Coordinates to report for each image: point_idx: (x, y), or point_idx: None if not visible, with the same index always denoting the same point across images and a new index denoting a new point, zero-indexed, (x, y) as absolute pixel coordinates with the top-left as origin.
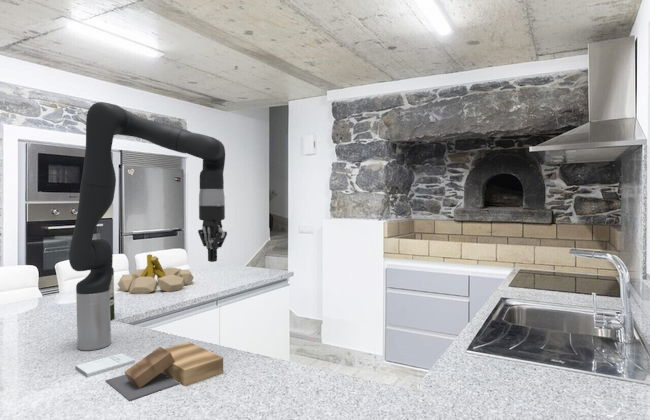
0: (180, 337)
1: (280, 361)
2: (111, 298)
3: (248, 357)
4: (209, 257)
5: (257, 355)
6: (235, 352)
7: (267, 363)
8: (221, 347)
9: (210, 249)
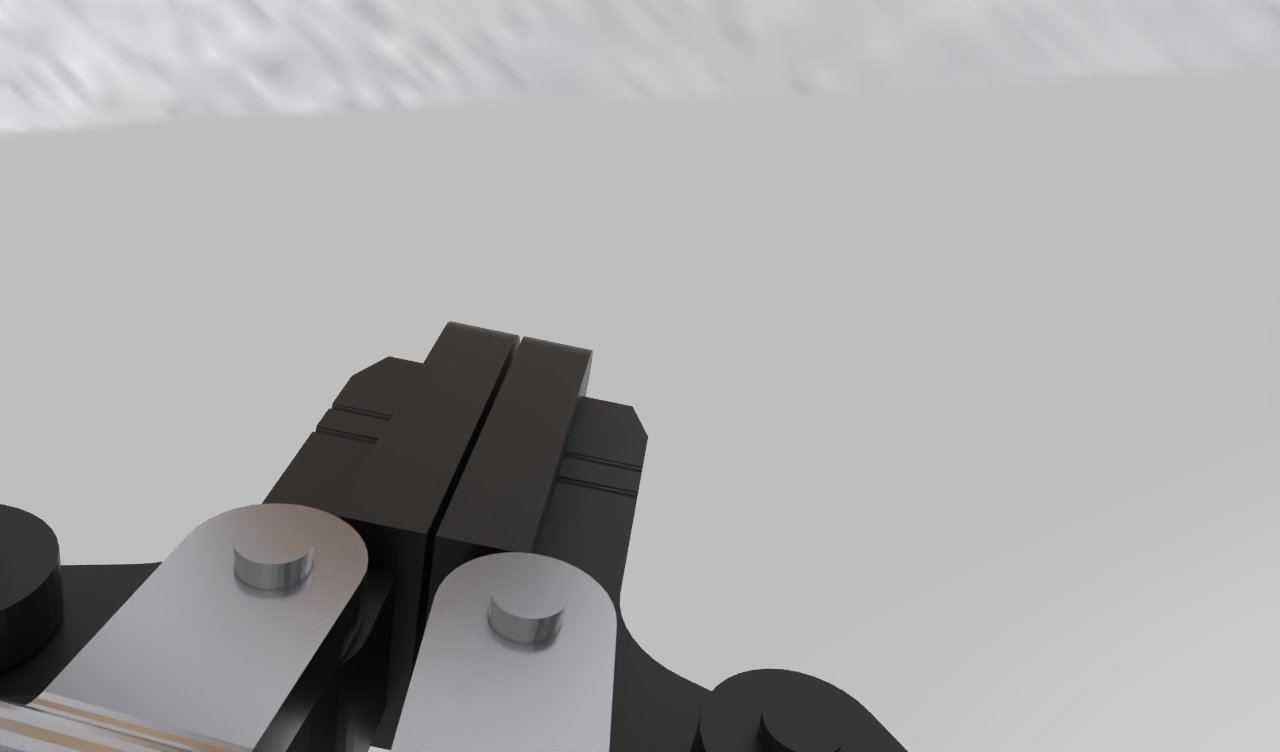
0: (1245, 60)
1: (21, 102)
2: None
3: (275, 26)
4: (485, 378)
5: (255, 102)
6: (454, 53)
7: (57, 11)
8: (655, 77)
9: (299, 507)
